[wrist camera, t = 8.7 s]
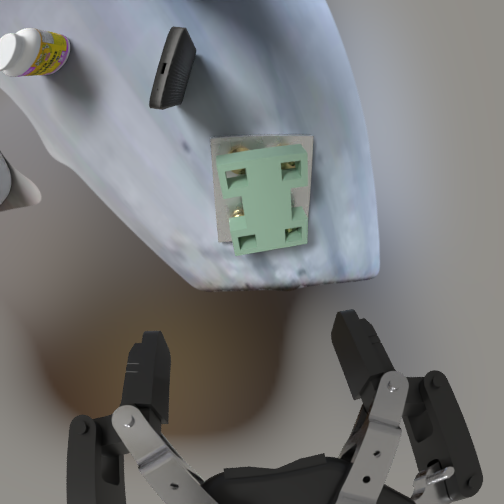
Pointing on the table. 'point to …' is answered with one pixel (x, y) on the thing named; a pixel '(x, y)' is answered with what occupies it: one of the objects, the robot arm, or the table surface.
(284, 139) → the chassis
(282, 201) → the board
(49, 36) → the supplement bottle
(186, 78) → the phone
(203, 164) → the table surface
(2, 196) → the plastic bottle
